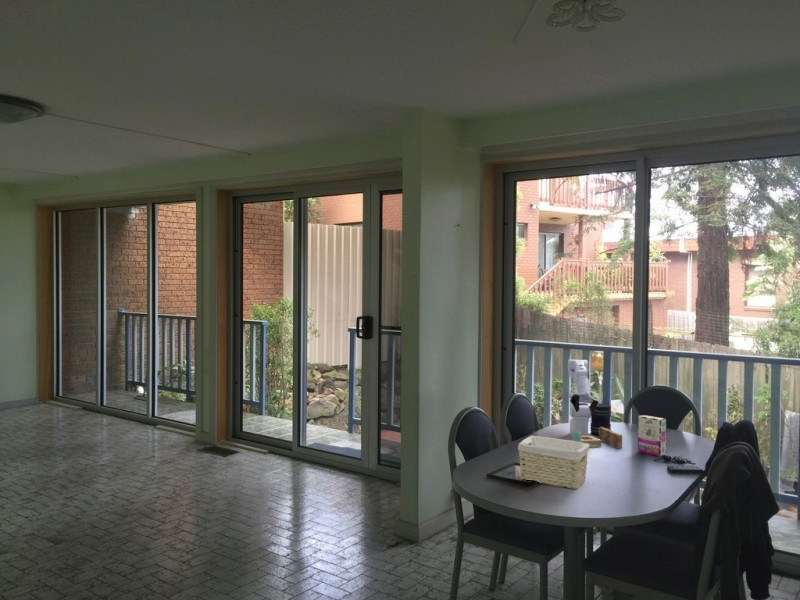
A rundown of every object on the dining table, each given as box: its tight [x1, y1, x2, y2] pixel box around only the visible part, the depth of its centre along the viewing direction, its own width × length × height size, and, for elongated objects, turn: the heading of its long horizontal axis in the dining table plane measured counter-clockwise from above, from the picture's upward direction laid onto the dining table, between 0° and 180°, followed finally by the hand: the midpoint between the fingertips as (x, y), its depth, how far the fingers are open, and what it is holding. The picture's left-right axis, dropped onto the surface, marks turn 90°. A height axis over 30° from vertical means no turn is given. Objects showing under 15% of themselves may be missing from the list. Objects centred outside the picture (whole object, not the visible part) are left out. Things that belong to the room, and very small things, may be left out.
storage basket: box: [517, 435, 590, 490], centre depth 241 cm, size 24×16×15 cm
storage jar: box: [589, 402, 612, 437], centre depth 319 cm, size 10×10×15 cm
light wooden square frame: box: [570, 434, 602, 448], centre depth 298 cm, size 10×10×3 cm
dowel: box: [573, 431, 581, 442], centre depth 289 cm, size 3×3×8 cm
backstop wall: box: [598, 427, 623, 449], centre depth 300 cm, size 18×2×6 cm, turn 11°
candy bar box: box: [637, 414, 667, 457], centre depth 282 cm, size 11×5×16 cm, turn 37°
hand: (585, 413), depth 293 cm, fingers open, 7 cm apart
